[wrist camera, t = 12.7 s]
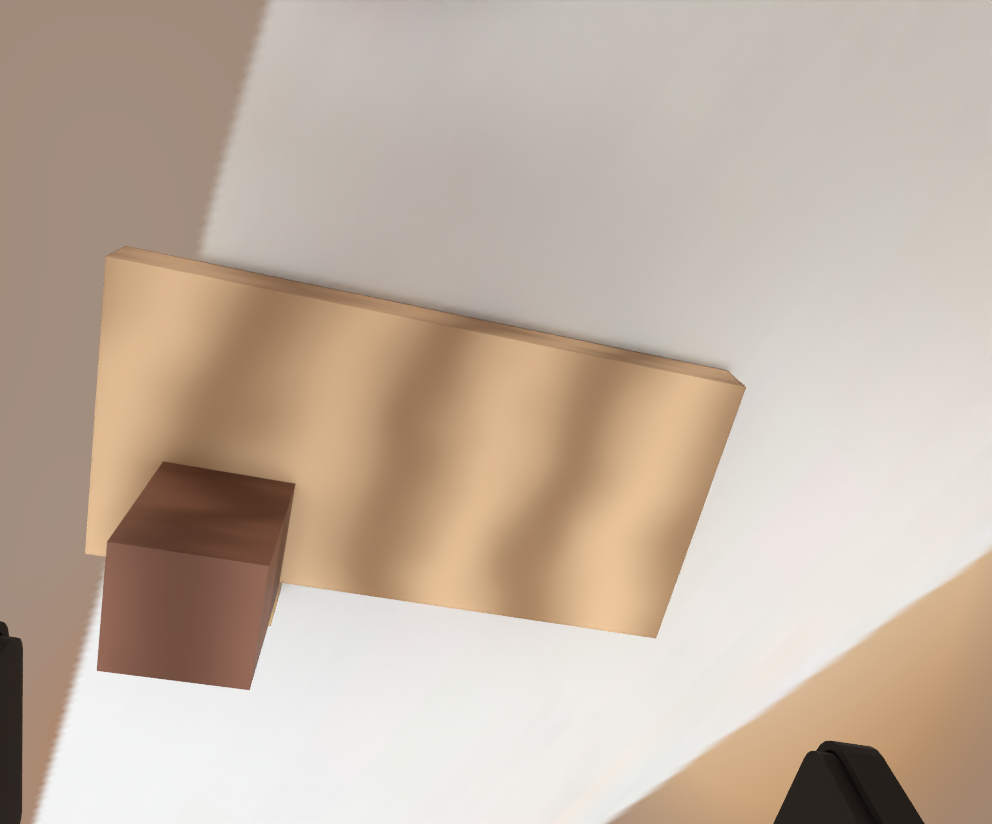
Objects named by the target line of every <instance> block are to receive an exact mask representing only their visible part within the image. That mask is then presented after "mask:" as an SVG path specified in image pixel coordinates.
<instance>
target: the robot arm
mask: <svg viewBox="0 0 992 824" xmlns="http://www.w3.org/2000/svg"><path fill="white" fill-rule="evenodd" d="M22 686H23V646H22V642H21V639H19V638H16V637H9V634H8V628H7V626H6V624H5V623H4V622H1V621H0V824H20V821H21V815H22V696H23V695H22V694H23V688H22ZM774 824H924V822H923V821H922V819H921V818H920V816H919V814H918V813H917V811H916V809H915V808H914V806H913V805H912V803H911V801H910V800H909V798H908V797H907V795H906V793H905V792H904V790H903V789H902V787H901V785H900V784H899V782H898V780H897V779H896V777H895V776H894V774H893V772H892V771H891V769H890V768H889V766H888V765H887V763H886V761H885V760H884V758H883V757H882V755H881V754H880V753H879V752H878V751H877V750H876V749H874V748H873V747H870V746H863V745H857V744H849V743H842V742H836V741H825V742H824V743H822V744H821V745H820V746H819V747H818V749H817V750H816V751H810V752H809V753H807V755H806V756H805V758H804V760H803V762H802V764H801V766H800V768H799V771H798V772H797V774H796V777H795V779H794V781H793V783H792V785H791V787H790V789H789V791H788V794H787V796H786V798H785V800H784V802H783V804H782V807H781V809H780V811H779V813H778V815H777V817H776V819H775V821H774Z"/></svg>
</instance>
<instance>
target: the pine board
mask: <svg viewBox="0 0 992 824" xmlns="http://www.w3.org/2000/svg"><path fill="white" fill-rule="evenodd" d="M745 389H746V387H745V386H744V385H743V384H742V383H741V382H740V381H739V380H737V379H736V378H735V377H734V376H733V375H732V374H731V373H730V372H729V371H725V370H721V369H716V368H711V367H706V366H701V365H696V364H692V363H687V362H682V361H677V360H672V359H668V358H663V357H658V356H653V355H648V354H643V353H639V352H634V351H629V350H624V349H619V348H614V347H610V346H605V345H600V344H595V343H590V342H586V341H581V340H576V339H571V338H566V337H561V336H557V335H552V334H547V333H542V332H537V331H532V330H528V329H523V328H518V327H513V326H508V325H504V324H499V323H494V322H489V321H484V320H479V319H475V318H470V317H465V316H460V315H455V314H451V313H446V312H441V311H436V310H431V309H426V308H422V307H417V306H412V305H407V304H402V303H397V302H393V301H388V300H383V299H378V298H373V297H369V296H364V295H359V294H354V293H349V292H344V291H340V290H335V289H330V288H325V287H320V286H315V285H311V284H306V283H301V282H296V281H291V280H287V279H282V278H277V277H272V276H267V275H262V274H258V273H253V272H248V271H243V270H238V269H234V268H229V267H224V266H219V265H214V264H209V263H205V262H200V261H195V260H190V259H185V258H180V257H176V256H171V255H166V254H161V253H156V252H151V251H146V250H142V249H137V248H132V247H127V246H125V247H123V248H121V249H119V250H117V251H115V252H113V253H111V254H109V255H107V256H106V262H105V277H104V292H103V305H102V320H101V334H100V349H99V363H98V377H97V391H96V406H95V420H94V434H93V448H92V464H91V477H90V491H89V506H88V520H87V534H86V549H85V553H86V554H92V555H99V556H106V548H107V541H108V540H109V538H110V537H111V535H112V534H113V532H114V531H115V530H116V528H117V527H118V525H119V524H120V522H121V521H122V520H123V518H124V517H125V515H126V514H127V512H128V511H129V509H130V508H131V507H132V505H133V504H134V502H135V501H136V499H137V498H138V497H139V495H140V494H141V492H142V491H143V489H144V488H145V487H146V485H147V484H148V482H149V481H150V479H151V478H152V477H153V475H154V474H155V472H156V471H157V469H158V468H159V467H160V465H161V464H162V462H163V461H164V462H170V463H176V464H182V465H188V466H194V467H200V468H206V469H212V470H218V471H224V472H230V473H236V474H242V475H247V476H253V477H259V478H265V479H271V480H277V481H283V482H289V483H295V490H294V497H293V503H292V509H291V515H290V521H289V527H288V533H287V539H286V545H285V551H284V557H283V563H282V570H281V576H280V582H281V583H287V584H294V585H301V586H307V587H314V588H321V589H328V590H334V591H341V592H348V593H355V594H361V595H368V596H375V597H382V598H388V599H395V600H402V601H408V602H415V603H422V604H429V605H435V606H442V607H449V608H456V609H462V610H469V611H476V612H482V613H489V614H496V615H503V616H509V617H516V618H523V619H530V620H536V621H543V622H550V623H556V624H563V625H570V626H577V627H583V628H590V629H597V630H604V631H610V632H617V633H624V634H631V635H637V636H644V637H651V638H656V637H657V634H658V631H659V628H660V626H661V623H662V620H663V617H664V614H665V612H666V609H667V606H668V603H669V601H670V598H671V595H672V592H673V589H674V587H675V584H676V581H677V578H678V575H679V573H680V570H681V567H682V564H683V561H684V559H685V556H686V553H687V550H688V548H689V545H690V542H691V539H692V536H693V534H694V531H695V528H696V525H697V522H698V520H699V517H700V514H701V511H702V508H703V506H704V503H705V500H706V497H707V495H708V492H709V489H710V486H711V483H712V481H713V478H714V475H715V472H716V469H717V467H718V464H719V461H720V458H721V455H722V453H723V450H724V447H725V444H726V442H727V439H728V436H729V433H730V430H731V428H732V425H733V422H734V419H735V416H736V414H737V411H738V408H739V405H740V403H741V400H742V397H743V394H744V391H745Z"/></svg>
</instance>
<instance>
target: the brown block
mask: <svg viewBox="0 0 992 824" xmlns="http://www.w3.org/2000/svg"><path fill="white" fill-rule="evenodd" d="M294 490H295V483H289V482H283V481H277V480H271V479H265V478H259V477H253V476H247V475H242V474H236V473H230V472H224V471H218V470H212V469H206V468H200V467H194V466H188V465H182V464H176V463H170V462H164V461H163V462H162V464H161V465H160V467H159V468H158V469H157V471H156V472H155V474H154V475H153V477H152V478H151V479H150V481H149V482H148V484H147V485H146V487H145V488H144V489H143V491H142V492H141V494H140V495H139V497H138V498H137V499H136V501H135V502H134V504H133V505H132V507H131V508H130V509H129V511H128V512H127V514H126V515H125V517H124V518H123V520H122V521H121V522H120V524H119V525H118V527H117V528H116V530H115V531H114V532H113V534H112V535H111V537H110V538H109V540H108V541H107V548H106V561H105V573H104V586H103V599H102V611H101V624H100V637H99V649H98V662H97V671H103V672H111V673H119V674H127V675H135V676H143V677H151V678H158V679H166V680H174V681H182V682H190V683H198V684H206V685H214V686H222V687H230V688H238V689H246V690H250V687H251V683H252V680H253V676H254V673H255V669H256V666H257V662H258V659H259V655H260V652H261V648H262V645H263V641H264V638H265V634H266V631H267V627H268V626H271V622H272V619H273V615H274V612H275V608H276V605H277V601H278V598H279V594H280V590H281V584H282V583H281V582H280V576H281V570H282V563H283V557H284V551H285V545H286V539H287V533H288V527H289V521H290V515H291V509H292V503H293V497H294Z"/></svg>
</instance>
